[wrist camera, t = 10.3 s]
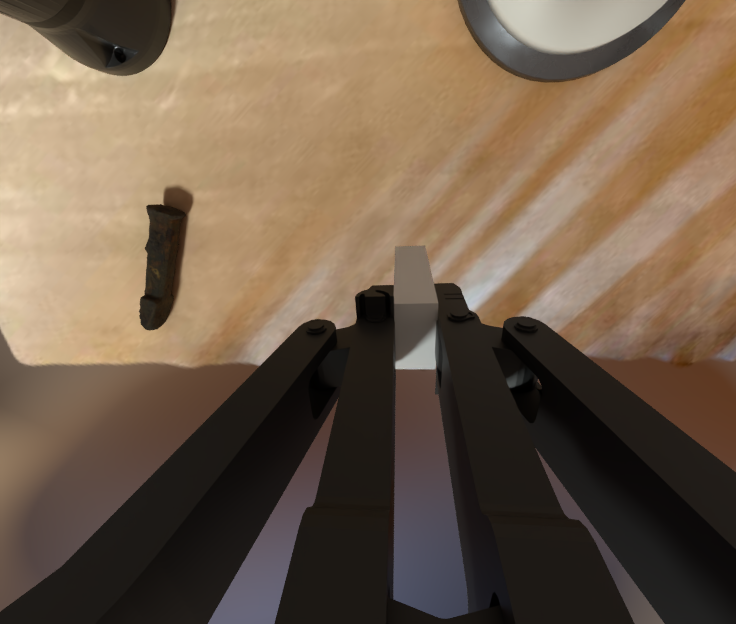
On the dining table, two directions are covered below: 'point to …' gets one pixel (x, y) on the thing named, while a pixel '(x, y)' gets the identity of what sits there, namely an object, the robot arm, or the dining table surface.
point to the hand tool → (160, 264)
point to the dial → (570, 22)
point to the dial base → (548, 65)
